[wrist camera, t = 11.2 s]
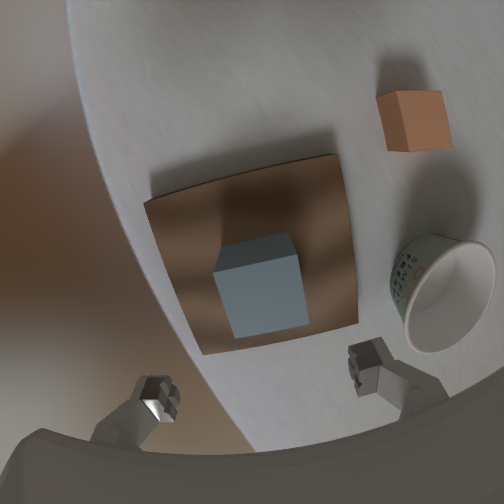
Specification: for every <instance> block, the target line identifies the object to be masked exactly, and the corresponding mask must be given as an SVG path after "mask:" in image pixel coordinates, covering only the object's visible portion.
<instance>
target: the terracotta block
mask: <svg viewBox="0 0 504 504" xmlns="http://www.w3.org/2000/svg"><path fill="white" fill-rule="evenodd" d="M376 101H377V105H378V109H379V113H380V117H381V121H382V125H383V130H384V135H385V140H386V145H387V150H388V151H397V152H416V151H424V150H433V149H443V148H453V147H452V140H451V134H450V128H449V123H448V118H447V113H446V109H445V104H444V100H443V96H442V92H441V91H422V90H401V91H393V92H390V93H388V94H385V95H382V96H379V97H377V98H376Z"/></svg>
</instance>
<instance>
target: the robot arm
mask: <svg viewBox="0 0 504 504" xmlns="http://www.w3.org/2000/svg"><path fill="white" fill-rule="evenodd" d="M348 354H349V356H350V358H349V359H348V366H349V372H350V375H351V378H352V379H353V380H354V387H355V389H356V392H357V395H358V397H361V396H364V395H368V394H372V393H375V392H377V394H379V395H380V396H381V397H383V398H384V399H386V400H387V401H388V402H390V403H391V404H392V405H394V406H395V407H397V408H398V409H399V410H401V414H400V417H399V420H398V421H395V422H393V423H390V424H387V425H384V426H381V427H378V428H375V429H372V430H369V431H365V432H362V433H359V434H355V435H352V436H348V437H344V438H340V439H336V440H332V441H327V442H323V443H318V444H313V445H308V446H302V447H296V448H290V449H283V450H276V451H267V452H257V453H245V454H227V455H188V454H169V453H157V452H148V451H143V450H142V449H140V448H139V446H140V445H141V444H142V443H143V441H144V440H145V439H146V438H147V437H148V436H149V435H150V433H151V432H152V431H153V430H154V429H155V428H156V427H157V425H158V424H159V422H175V419H176V415H177V410H176V407H177V406H178V405H179V402H180V393H179V390H178V388H177V386H175V385H173V384H172V379H171V377H170V376H168V375H157V376H155V375H154V376H153V375H150V376H140V377H139V378H138V381H137V383H136V385H135V388H134V390H133V393H132V395H131V398H130V400H126V401H125V402H124V403H123V404H121V405H120V406H119V407H118V408H117V409H115V410H114V411H113V412H111V413H110V414H109V415H108V416H106V417H105V418H104V419H103V420H101V421H100V422H99V423H98V424H97V425H96V428H95V430H94V432H93V434H92V437H91V439H90V441H85V440H81V439H77V438H74V437H70V436H66V435H63V434H60V433H57V432H53V431H51V430H48V429H44V428H41V429H38V430H36V431H34V432H33V433H31V434H30V435H28V436H27V437H25V438H24V439H22V440H21V441H20V442H19V444H18V445H17V446H16V448H15V450H14V451H13V453H12V455H11V457H10V458H9V460H8V462H7V464H6V466H5V467H4V469H3V472H2V474H1V476H0V504H504V366H503V367H501V368H500V369H498V370H497V371H495V372H494V373H492V374H491V375H489V376H488V377H486V378H484V379H483V380H481V381H479V382H478V383H476V384H474V385H473V386H471V387H469V388H467V389H466V390H464V391H462V392H460V393H458V394H456V395H454V396H453V397H451V398H450V397H449V396H448V394H447V392H446V391H445V389H444V387H443V386H442V384H441V382H440V381H439V379H438V378H436V377H434V376H432V375H429V374H427V373H425V372H423V371H421V370H419V369H417V368H414V367H412V366H410V365H408V364H406V363H404V362H402V361H400V360H394V358H393V356H392V354H391V353H390V351H389V349H388V347H387V346H386V344H385V342H384V340H383V339H382V337H377V338H374V339H371V340H368V341H364V342H361V343H358V344H354V345H350V346H348Z"/></svg>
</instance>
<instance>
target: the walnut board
mask: <svg viewBox="0 0 504 504" xmlns="http://www.w3.org/2000/svg"><path fill="white" fill-rule="evenodd" d="M143 204H144V207H145V210H146V214H147V217H148V220H149V223H150V226H151V229H152V232H153V234H154V237H155V240H156V243H157V246H158V249H159V251H160V254H161V257H162V260H163V262H164V265H165V268H166V270H167V273H168V275H169V278H170V280H171V283H172V286H173V288H174V291H175V293H176V295H177V298H178V300H179V303H180V305H181V308H182V310H183V312H184V315H185V317H186V319H187V321H188V324H189V326H190V328H191V331H192V333H193V335H194V337H195V339H196V342H197V344H198V346H199V348H200V350H201V352H202V354H203V355H207V354H214V353H221V352H228V351H234V350H240V349H246V348H252V347H258V346H263V345H268V344H273V343H278V342H283V341H288V340H293V339H297V338H302V337H306V336H310V335H315V334H319V333H323V332H327V331H331V330H335V329H339V328H342V327H346V326H350V325H353V324H357V323H359V321H358V300H357V285H356V273H355V262H354V252H353V244H352V235H351V227H350V220H349V213H348V206H347V200H346V194H345V188H344V182H343V177H342V171H341V166H340V161H339V156H338V154H327V155H321V156H316V157H311V158H306V159H301V160H296V161H291V162H286V163H281V164H277V165H272V166H268V167H264V168H259V169H255V170H251V171H247V172H243V173H239V174H235V175H231V176H227V177H223V178H220V179H216V180H212V181H209V182H205V183H202V184H198V185H195V186H191V187H188V188H185V189H181V190H178V191H175V192H172V193H168V194H165V195H162V196H159V197H156V198H153V199H150V200H148V201H147V202H145V203H143ZM284 232H288V233H289V235H290V238H291V240H292V243H293V245H294V248H295V250H296V253H297V256H298V261H299V267H300V272H301V278H302V283H303V289H304V294H305V300H306V306H307V312H308V318H309V324H307V325H303V326H298V327H294V328H289V329H284V330H279V331H274V332H269V333H264V334H259V335H253V336H248V337H242V338H236V339H235V337H234V334H233V331H232V329H231V326H230V323H229V320H228V317H227V314H226V311H225V308H224V306H223V303H222V300H221V297H220V294H219V291H218V288H217V285H216V282H215V279H214V276H213V270H214V267H215V264H216V261H217V258H218V255H219V252H220V249H221V247H222V246H227V245H231V244H235V243H240V242H244V241H248V240H253V239H257V238H262V237H266V236H271V235H275V234H279V233H284Z"/></svg>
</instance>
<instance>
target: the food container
mask: <svg viewBox="0 0 504 504" xmlns="http://www.w3.org/2000/svg"><path fill="white" fill-rule="evenodd" d="M495 282H496V266H495V261H494V258H493V255H492V253H491V251H490V250H489V249H488V247H487V246H485V245H484V244H483V243H481V242H478V241H464V242H463V241H459V240H455V239H452V238H448V237H444V236H440V235H436V234H428V235H424V236H421V237H419V238H417V239H415V240H414V241H412V242H411V243H410V244H409V245H408V246H407V247H406V248H405V249H404V250H403V251H402V253H401V254H400V255H399V257H398V259H397V260H396V262H395V265H394V267H393V270H392V273H391V277H390V292H391V296H392V299H393V301H394V303H395V305H396V307H397V310H398V312H399V314H400V316H401V319H402V321H403V323H404V334H405V338H406V341H407V343H408V344H409V346H410V347H411V348H412V349H413V350H414V351H416V352H418V353H421V354H436V353H440V352H443V351H445V350H447V349H450V348H451V347H453V346H455V345H456V344H458V343H459V342H460V341H462V340H463V339H464V338H465V337H466V336H467V335H468V334H469V333H470V332H471V331H472V330H473V329H474V328H475V327H476V325H477V324H478V323H479V321H480V320H481V318H482V317H483V315H484V313H485V312H486V310H487V308H488V305H489V303H490V301H491V298H492V295H493V292H494V288H495Z"/></svg>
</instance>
